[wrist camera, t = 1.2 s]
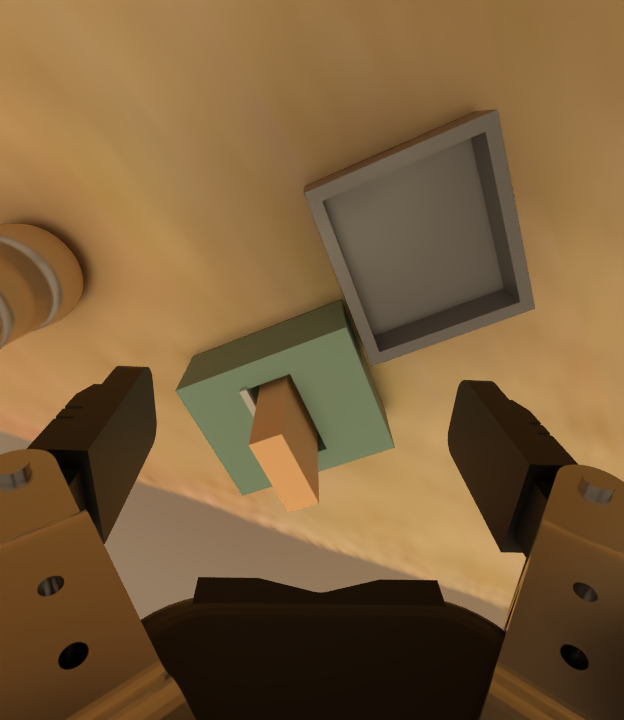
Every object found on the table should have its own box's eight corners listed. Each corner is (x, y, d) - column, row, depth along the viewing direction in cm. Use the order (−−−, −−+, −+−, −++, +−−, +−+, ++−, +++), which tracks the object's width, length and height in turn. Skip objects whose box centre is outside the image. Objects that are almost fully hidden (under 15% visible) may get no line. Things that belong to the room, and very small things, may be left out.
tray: (475, 111, 27) (497, 109, 23) (513, 290, 32) (535, 308, 29) (304, 186, 28) (303, 193, 25) (366, 344, 34) (371, 366, 30)
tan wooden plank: (288, 358, 32) (281, 434, 24) (316, 417, 35) (318, 503, 27) (263, 367, 33) (248, 445, 25) (293, 425, 35) (288, 512, 27)
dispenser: (341, 299, 32) (346, 329, 27) (384, 408, 36) (395, 451, 31) (193, 356, 34) (173, 393, 29) (250, 453, 38) (241, 499, 33)
